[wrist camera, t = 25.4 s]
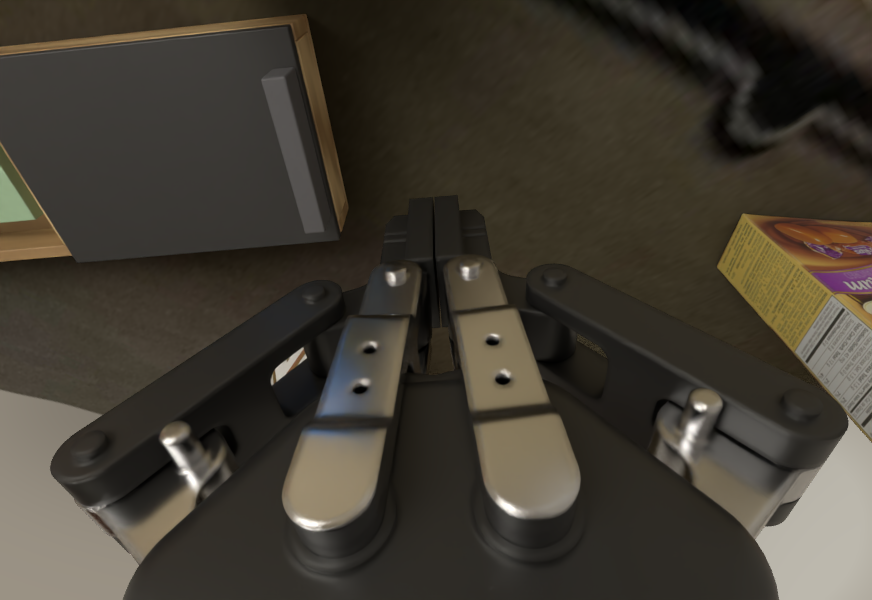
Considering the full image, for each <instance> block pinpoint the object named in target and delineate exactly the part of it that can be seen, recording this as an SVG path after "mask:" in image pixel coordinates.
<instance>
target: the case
mask: <svg viewBox="0 0 872 600" xmlns="http://www.w3.org/2000/svg"><path fill="white" fill-rule="evenodd" d="M285 24H290V25H291V28H292V32H293V36H294V40H295V45H296V49H297V53H298V57H299V61H300V66H301V70H302V74H303V78H304V82H305V87H306V91H307V95H308V99H309V103H310V108H311V112H312V116H313V120H314V124H315V129H316V133H317V137H318V141H319V145H320V150H321V154H322V158H323V162H324V166H325V171H326V175H327V179H328V183H329V187H330V191H331V196H332V200H333V204H334V208H335V212H336V217H337V221H338V225H339V229H340V232H342V229H343V225H344V222H345V219H346V215H347V212H348V209H349V207H348V202H347V198H346V193H345V188H344V184H343V179H342V175H341V170H340V166H339V161H338V156H337V152H336V147H335V143H334V138H333V134H332V129H331V124H330V120H329V115H328V111H327V106H326V102H325V97H324V92H323V88H322V83H321V79H320V74H319V70H318V65H317V60H316V56H315V51H314V47H313V42H312V38H311V33H310V28H309V24H308V19H307V15H306V14H298V15H289V16H280V17H271V18H261V19H252V20H243V21H234V22H225V23H215V24H206V25H197V26H188V27H179V28H169V29H160V30H151V31H142V32H133V33H123V34H114V35H105V36H96V37H87V38H77V39H68V40H59V41H50V42H41V43H31V44H22V45H13V46H4V47H0V55H7V54H17V53H26V52H35V51H44V50H54V49H63V48H72V47H81V46H91V45H100V44H109V43H119V42H128V41H137V40H146V39H156V38H165V37H174V36H183V35H193V34H202V33H211V32H221V31H230V30H239V29H248V28H258V27H267V26H276V25H285ZM0 145H1V147H2V148H3V150H4V152H5V153H6V155H7V156H8V158H9V159H10V161H11V163H12V164H13V166H14V167H15V169H16V170H17V172H18V174H19V175H20V177H21V178H22V180H23V181H24V183H25V185H26V186H27V188H28V189H29V191H30V192H31V194H32V196H33V197H34V199H35V200H36V202H37V203H38V205H39V207H40V208H41V210H42V211H43V213H44V214H43V215H41V216H40V217H39V218H37V219H36V220H27V221H16V222H5V223H0V262H4V261H15V260H27V259H38V258H49V257H61V256H72V254H71V253H70V251H69V250H68V248H67V247H66V245H65V243H64V242H63V240H62V239H61V237H60V236H59V234H58V232H57V231H56V229H55V228H54V226H53V224H52V223H51V221H50V220H49V218H48V217H47V215H46V213H45V212H44V210H43V209H42V207H41V206H40V204H39V202H38V201H37V199H36V198H35V196H34V195H33V193H32V191H31V190H30V188H29V187H28V185H27V183H26V182H25V180H24V179H23V177H22V176H21V174H20V172H19V171H18V169H17V168H16V166H15V165H14V163H13V161H12V160H11V158H10V157H9V155H8V154H7V152H6V150H5V149H4V147H3V146H2V144H1V142H0Z"/></svg>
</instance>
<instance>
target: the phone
mask: <svg viewBox="0 0 872 600" xmlns="http://www.w3.org/2000/svg"><path fill="white" fill-rule="evenodd" d="M43 214H44V213H43V211H42V210H41V208H40V207H39V205H38V203H37V202H36V200H35V199H34V197H33V196H32V194H31V192H30V191H29V189H28V188H27V186H26V185H25V183H24V181H23V180H22V178H21V177H20V175H19V174H18V172H17V170H16V169H15V167H14V166H13V164H12V163H11V161H10V159H9V158H8V156H7V155H6V153H5V152H4V150H3V148H2V147H1V145H0V223H5V222H16V221H27V220H36V219H37V218H39V217H40V216H41V215H43Z"/></svg>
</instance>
